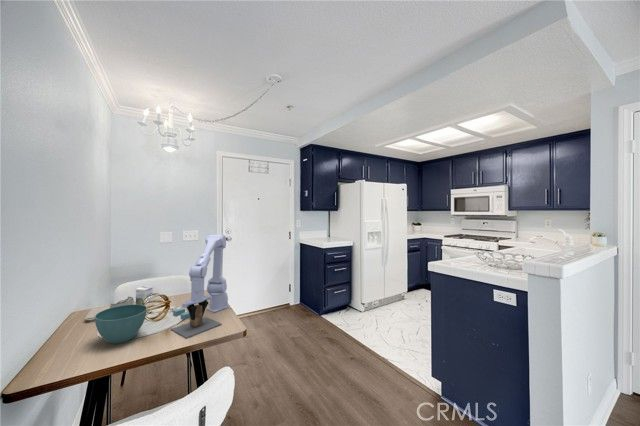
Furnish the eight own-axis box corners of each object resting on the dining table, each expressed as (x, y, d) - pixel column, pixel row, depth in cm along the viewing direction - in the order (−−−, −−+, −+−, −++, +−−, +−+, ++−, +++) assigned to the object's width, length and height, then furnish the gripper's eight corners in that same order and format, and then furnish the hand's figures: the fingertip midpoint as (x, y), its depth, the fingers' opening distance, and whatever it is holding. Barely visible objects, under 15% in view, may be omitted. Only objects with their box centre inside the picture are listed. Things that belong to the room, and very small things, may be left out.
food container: (121, 324, 127) (122, 304, 127) (109, 324, 127) (109, 304, 127) (139, 314, 140) (140, 296, 140) (128, 314, 140) (128, 296, 140)
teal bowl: (150, 327, 125) (151, 302, 125) (139, 345, 108) (140, 316, 108) (104, 333, 118) (105, 306, 118) (85, 353, 101) (86, 322, 101)
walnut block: (197, 322, 129) (197, 304, 129) (202, 323, 127) (202, 305, 127) (189, 325, 126) (189, 306, 126) (195, 326, 124) (194, 308, 124)
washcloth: (83, 324, 127) (83, 318, 127) (89, 312, 142) (89, 307, 142) (113, 319, 134) (114, 313, 134) (117, 308, 149) (117, 303, 149)
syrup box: (152, 311, 144) (153, 286, 144) (144, 315, 138) (145, 289, 138) (143, 311, 145) (143, 285, 145) (134, 315, 139) (135, 288, 139)
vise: (176, 309, 148) (176, 305, 148) (192, 317, 138) (193, 312, 138) (166, 312, 144) (166, 308, 144) (182, 320, 134) (182, 315, 134)
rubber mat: (205, 317, 138) (205, 316, 138) (221, 324, 130) (221, 323, 130) (170, 330, 123) (170, 328, 123) (186, 338, 115) (186, 337, 115)
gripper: (205, 285, 134) (204, 311, 134) (178, 292, 122) (177, 321, 122) (214, 287, 131) (213, 314, 131) (187, 295, 118) (187, 324, 118)
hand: (197, 317), depth 126 cm, fingers closed on walnut block, 4 cm apart
